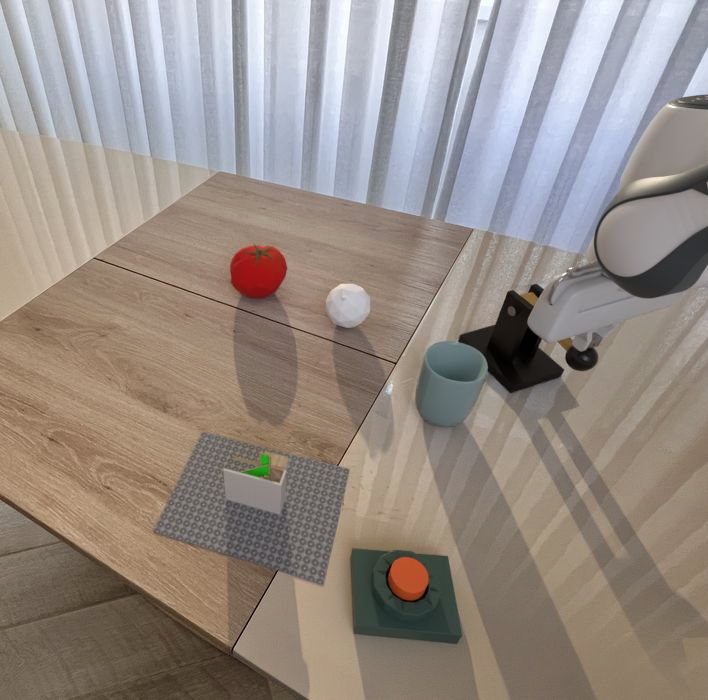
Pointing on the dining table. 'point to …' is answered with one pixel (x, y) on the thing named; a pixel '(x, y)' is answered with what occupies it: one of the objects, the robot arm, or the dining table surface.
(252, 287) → the tomato
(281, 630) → the dining table surface
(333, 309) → the ornament
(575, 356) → the lever with ball knob
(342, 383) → the dining table surface
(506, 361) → the lever base
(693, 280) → the robot arm
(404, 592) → the button
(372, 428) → the dining table surface
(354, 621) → the dimmer block
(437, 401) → the cup
